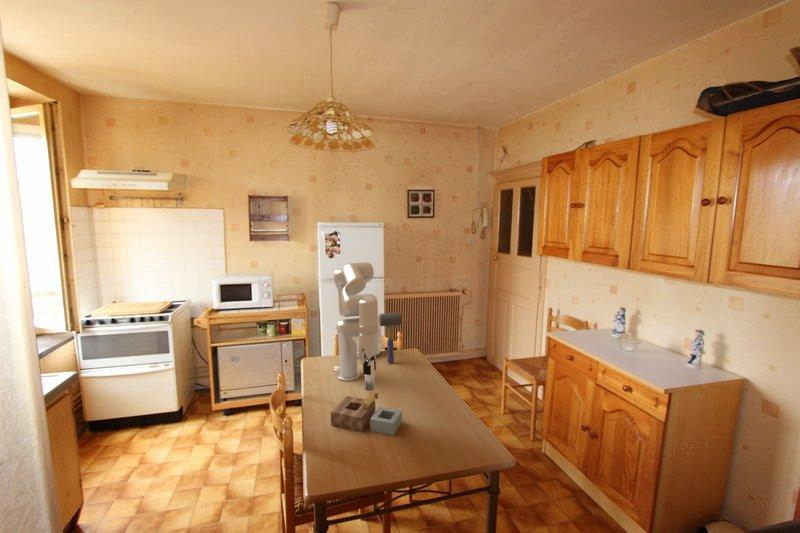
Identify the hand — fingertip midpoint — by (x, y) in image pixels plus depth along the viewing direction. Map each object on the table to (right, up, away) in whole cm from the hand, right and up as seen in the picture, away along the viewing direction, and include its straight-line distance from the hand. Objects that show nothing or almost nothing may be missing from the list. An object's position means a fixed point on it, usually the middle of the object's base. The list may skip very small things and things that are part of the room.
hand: (369, 371), depth 149 cm
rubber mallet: (+7, -14, +65) cm, 67 cm away
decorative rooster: (-10, -12, +77) cm, 79 cm away
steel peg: (0, -7, +1) cm, 7 cm away
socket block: (-7, -22, +6) cm, 24 cm away
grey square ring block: (+7, -23, +1) cm, 24 cm away
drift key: (-1, -16, +8) cm, 17 cm away
